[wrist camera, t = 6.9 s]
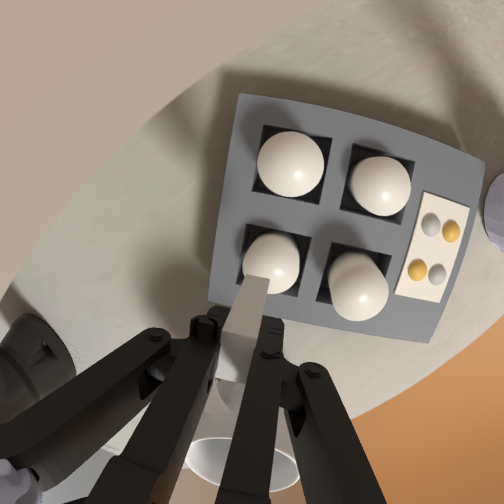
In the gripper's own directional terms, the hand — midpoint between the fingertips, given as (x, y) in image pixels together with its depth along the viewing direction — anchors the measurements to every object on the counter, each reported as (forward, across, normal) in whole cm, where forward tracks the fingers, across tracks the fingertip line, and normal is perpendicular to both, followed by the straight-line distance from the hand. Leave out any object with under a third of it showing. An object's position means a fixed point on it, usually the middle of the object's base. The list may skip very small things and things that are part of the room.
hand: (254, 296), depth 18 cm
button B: (+8, +1, +8) cm, 11 cm away
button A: (+9, +1, 0) cm, 9 cm away
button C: (+8, +8, 0) cm, 11 cm away
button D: (+9, +8, +8) cm, 15 cm away
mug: (+11, +2, -16) cm, 19 cm away
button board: (+10, +7, +4) cm, 13 cm away
